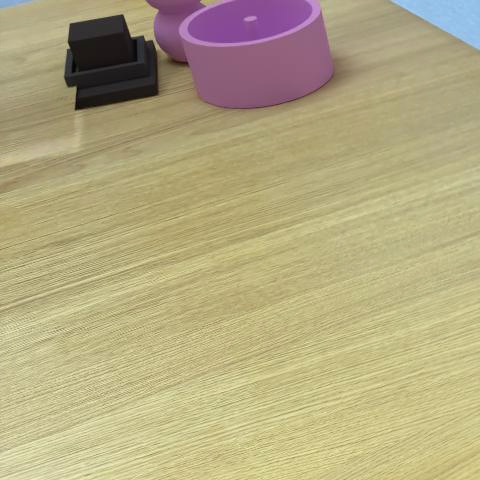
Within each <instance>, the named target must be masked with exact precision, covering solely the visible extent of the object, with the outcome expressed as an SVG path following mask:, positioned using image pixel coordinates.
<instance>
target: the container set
mask: <svg viewBox="0 0 480 480" xmlns="http://www.w3.org/2000/svg"><path fill="white" fill-rule="evenodd" d="M144 1H145V2H146V3H147V4H148V5H149V6H150V7H152V8H154V9H155V10H158V11H157V12H156V14H155V16H154V20H153V36H154V38H155V41H156V44H157V45H158V47H159V48H160V50H161V51H162V52H164V53H165V54H166V55H167V56H169V57H170V58H172V60H174V61H176V62H180V63H188V67H189V69H190V74H191V76H192V79H193V82H194V86H195V89H196V92H197V94H198V96H199V97H200V99H201V100H203V101H204V102H206V103H208V104H211V105H213V106H216V107H222V108H226V109H227V108H229V109H255V108H262V107H263V108H264V107H269V106H275V105H279V104H283V103H287V102H290V101H291V102H292V101H294V100H297V99H299V98H302V97H305V96H307V95H309V94H310V93H313V92H315V91H316V90H319V89H320V88H321V87H323V86H324V85H325V84H327V83H328V82H329V81H330V79H331V78H332V76H333V75H334V71H335V67H334V66H335V65H334V62H333V57H332V52H331V47H330V43H329V39H328V34H327V30H326V29H327V28H326V24H325V20H324V15H323V10H322V6H321V4H320V3H319V1H318V0H221V1H217V2H214V3H212V4H210V5H206V4H204V3H202V2H201V1H202V0H144Z"/></svg>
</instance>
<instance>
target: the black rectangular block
mask: <svg viewBox="0 0 480 480" xmlns="http://www.w3.org/2000/svg"><path fill="white" fill-rule="evenodd" d="M131 37H132V35H131V32H130V29H129V27H128V24H127V21H126V17H125V15H124V13H121V14H114V15H110V16H104V17H97V18H93V19H87V20H82V21H76V22H71V23H70V22H69V26H68V35H67V44H68V47H69V49H70V50H71V52H72V55H73V58H74V60H75V63H76V65H77V71H78V70H79V72H82V71H88V70H93V69H99V68H104V67H109V66H115V65H120V64H126V63H131V62H137V52H136V50H135V47H134V44H133V41H132V38H131Z"/></svg>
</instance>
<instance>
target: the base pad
mask: <svg viewBox="0 0 480 480" xmlns="http://www.w3.org/2000/svg"><path fill="white" fill-rule="evenodd" d="M131 38H132V41H133V44H134V47H135V50H136V52H137V62H131V63H126V64H120V65H115V66H109V67H104V68H99V69H93V70H88V71H82V72H79V70H78V68H77V65H76V63H75V60H74V58H73V55H72V52H71V50H70V48H66V54H65V55H66V56H65V63H64V73H63V79H64V82H65V84H66V87H67V88H72V87H75V88H76V89H75V100H74V111H78V110H83V109H90V108H94V107H100V106H105V105H111V104H116V103H121V102H126V101H131V100H138V99H142V98H147V97H153V96H159V93H160V92H159V79H158V77H159V76H158V59H157V48H156V45H155V42H154V39H150V40H146V38H145V35H142V34H141V35H136V36H131Z"/></svg>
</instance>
